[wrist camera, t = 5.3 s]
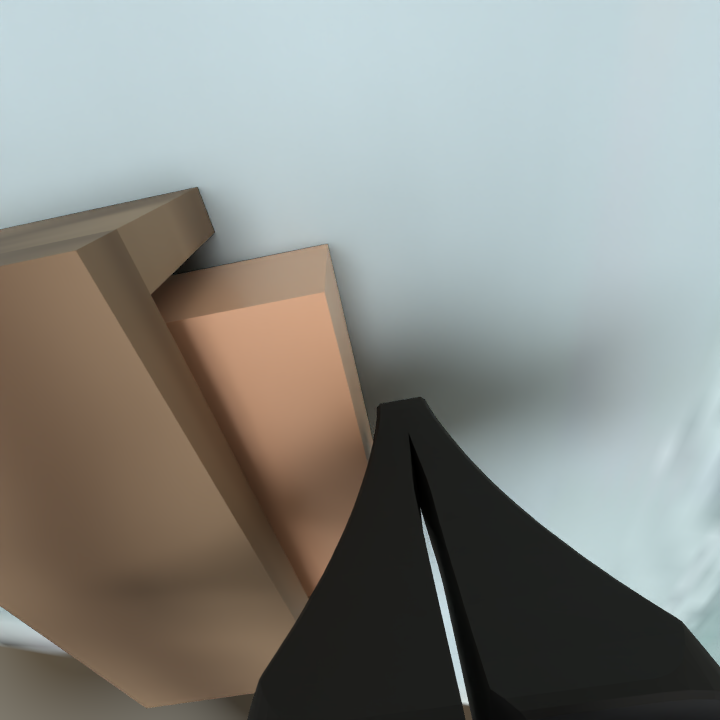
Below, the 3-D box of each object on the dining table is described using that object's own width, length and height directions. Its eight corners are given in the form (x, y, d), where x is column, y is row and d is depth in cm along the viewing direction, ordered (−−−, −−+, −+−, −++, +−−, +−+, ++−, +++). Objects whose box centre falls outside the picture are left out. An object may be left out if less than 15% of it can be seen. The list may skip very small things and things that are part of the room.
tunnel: (197, 187, 8) (75, 250, 4) (332, 539, 16) (332, 682, 12) (-55, 241, 9) (-374, 344, 5) (193, 562, 16) (146, 708, 12)
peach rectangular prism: (327, 243, 9) (324, 291, 7) (387, 502, 15) (397, 583, 12) (55, 298, 10) (-44, 363, 7) (210, 530, 15) (185, 614, 13)
